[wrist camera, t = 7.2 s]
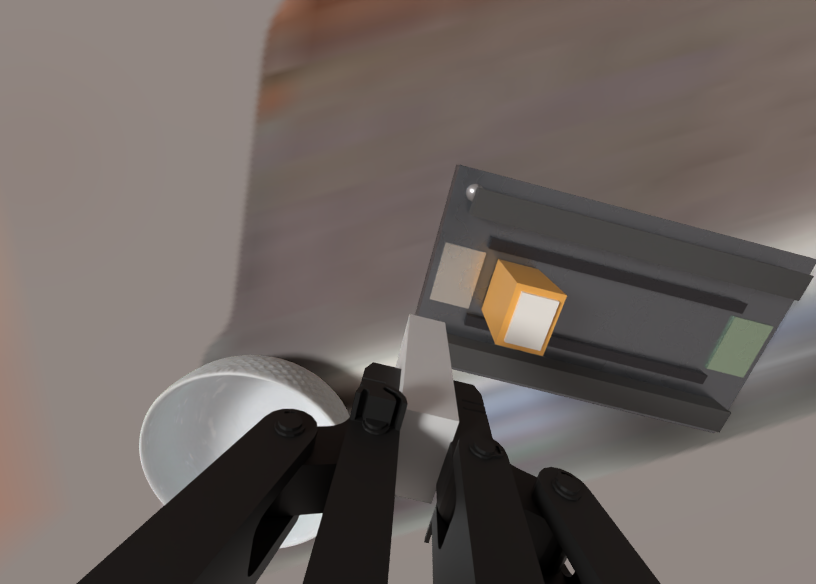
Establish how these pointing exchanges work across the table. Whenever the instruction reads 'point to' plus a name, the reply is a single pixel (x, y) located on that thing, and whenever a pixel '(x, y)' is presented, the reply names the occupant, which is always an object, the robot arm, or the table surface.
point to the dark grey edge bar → (586, 383)
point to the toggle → (522, 307)
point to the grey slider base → (609, 294)
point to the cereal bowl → (228, 420)
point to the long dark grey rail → (638, 244)
